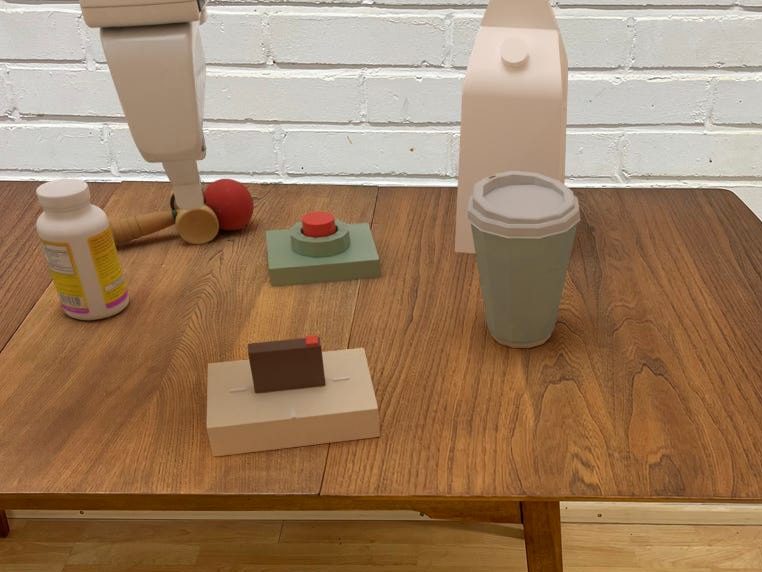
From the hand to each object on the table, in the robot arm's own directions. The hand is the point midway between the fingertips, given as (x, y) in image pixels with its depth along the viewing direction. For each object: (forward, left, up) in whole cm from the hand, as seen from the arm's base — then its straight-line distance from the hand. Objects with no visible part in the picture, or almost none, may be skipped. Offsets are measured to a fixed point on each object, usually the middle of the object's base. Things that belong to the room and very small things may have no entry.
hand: (193, 180), depth 65 cm
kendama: (-6, +39, -21) cm, 45 cm away
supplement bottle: (-14, +23, -21) cm, 35 cm away
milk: (+33, +32, -21) cm, 51 cm away
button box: (+10, +29, -21) cm, 37 cm away
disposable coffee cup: (+28, +9, -21) cm, 36 cm away
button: (+10, +29, -18) cm, 35 cm away
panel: (+5, 0, -21) cm, 22 cm away
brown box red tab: (+5, 0, -18) cm, 19 cm away
